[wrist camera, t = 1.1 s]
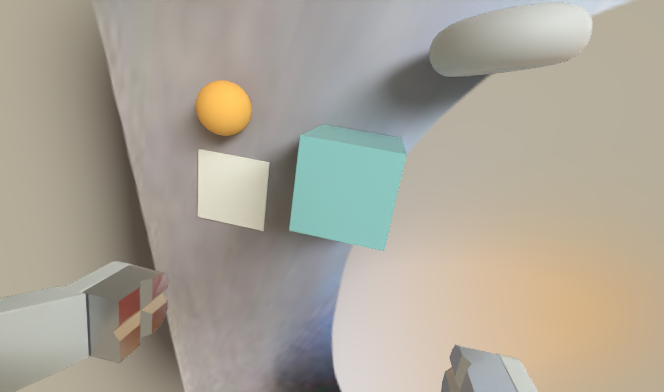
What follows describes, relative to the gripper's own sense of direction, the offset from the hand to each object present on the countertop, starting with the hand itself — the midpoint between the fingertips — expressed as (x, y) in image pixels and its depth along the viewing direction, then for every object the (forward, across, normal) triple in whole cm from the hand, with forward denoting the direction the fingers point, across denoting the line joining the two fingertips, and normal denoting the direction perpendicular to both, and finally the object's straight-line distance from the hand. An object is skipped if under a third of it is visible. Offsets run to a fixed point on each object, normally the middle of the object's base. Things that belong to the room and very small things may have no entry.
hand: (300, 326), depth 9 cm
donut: (+24, -8, -12) cm, 28 cm away
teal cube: (+24, +1, 0) cm, 24 cm away
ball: (+22, +14, -4) cm, 26 cm away
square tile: (+25, +14, +5) cm, 29 cm away
